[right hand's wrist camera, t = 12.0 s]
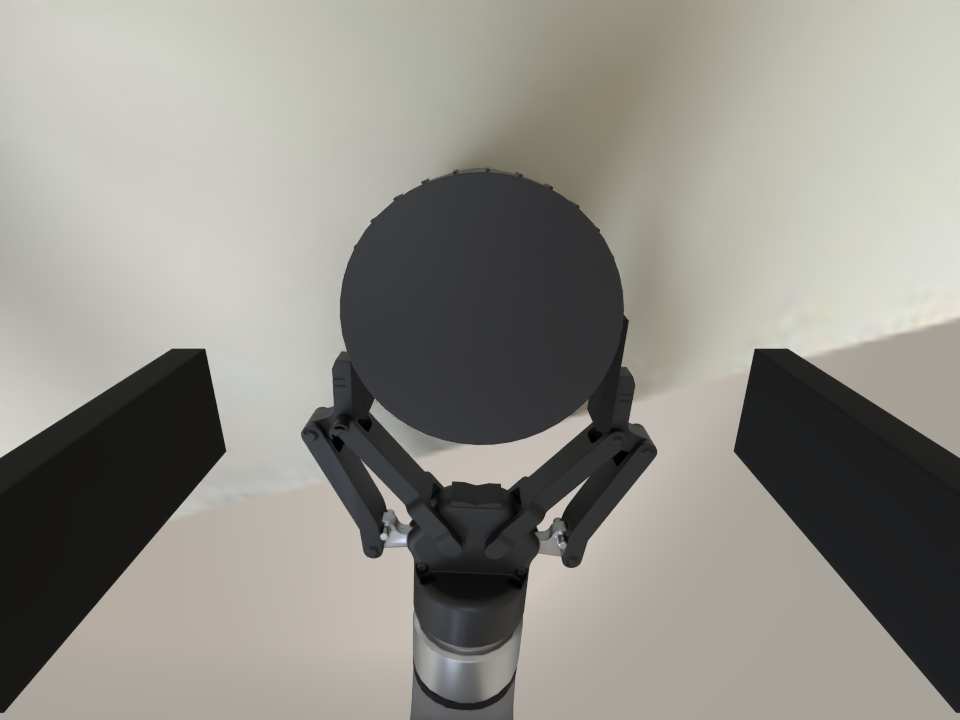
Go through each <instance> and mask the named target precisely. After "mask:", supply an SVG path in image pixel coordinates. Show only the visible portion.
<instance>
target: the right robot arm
mask: <svg viewBox="0 0 960 720" xmlns="http://www.w3.org/2000/svg"><path fill="white" fill-rule="evenodd" d="M225 452H226V448H225V443H224V438H223V433H222V428H221V423H220V418H219V414H218V409H217V404H216V399H215V394H214V389H213V384H212V379H211V375H210V370H209V365H208V360H207V355H206V350H205V349H171V350H170V351H168V352H166V353H165V354H163V355H162V356H160V357H159V358H157V359H155V360H154V361H152V362H151V363H149V364H148V365H146V366H144V367H143V368H141V369H140V370H138V371H137V372H135V373H133V374H132V375H130V376H129V377H127V378H126V379H124V380H122V381H121V382H119V383H118V384H116V385H115V386H113V387H111V388H110V389H108V390H107V391H105V392H103V393H102V394H100V395H99V396H97V397H96V398H94V399H92V400H91V401H89V402H88V403H86V404H85V405H83V406H81V407H80V408H78V409H77V410H75V411H74V412H72V413H70V414H69V415H67V416H66V417H64V418H63V419H61V420H59V421H58V422H56V423H55V424H53V425H52V426H50V427H48V428H47V429H45V430H44V431H42V432H41V433H39V434H37V435H36V436H34V437H33V438H31V439H30V440H28V441H26V442H25V443H23V444H22V445H20V446H19V447H17V448H15V449H14V450H12V451H11V452H9V453H8V454H6V455H4V456H3V457H1V458H0V713H4V712H5V711H6V710H7V708H8V707H9V706H10V705H11V704H12V702H13V701H14V700H15V699H16V698H17V697H18V695H19V694H20V693H21V692H22V691H23V689H24V688H25V687H26V686H27V685H28V684H29V683H30V681H31V680H32V679H33V678H34V677H35V675H36V674H37V673H38V672H39V671H40V670H41V668H42V667H43V666H44V665H45V664H46V663H47V661H48V660H49V659H50V658H51V657H52V655H53V654H54V653H55V652H56V651H57V650H58V648H59V647H60V646H61V645H62V644H63V643H64V641H65V640H66V639H67V638H68V637H69V636H70V634H71V633H72V632H73V631H74V630H75V628H76V627H77V626H78V625H79V624H80V623H81V621H82V620H83V619H84V618H85V617H86V616H87V614H88V613H89V612H90V611H91V610H92V609H93V607H94V606H95V605H96V604H97V603H98V601H99V600H100V599H101V598H102V597H103V596H104V594H105V593H106V592H107V591H108V590H109V588H110V587H111V586H112V585H113V584H114V583H115V581H116V580H117V579H118V578H119V577H120V576H121V574H122V573H123V572H124V571H125V570H126V569H127V567H128V566H129V565H130V564H131V563H132V561H133V560H134V559H135V558H136V557H137V556H138V554H139V553H140V552H141V551H142V550H143V549H144V547H145V546H146V545H147V544H148V543H149V541H150V540H151V539H152V538H153V537H154V536H155V534H156V533H157V532H158V531H159V530H160V529H161V527H162V526H163V525H164V524H165V523H166V522H167V520H168V519H169V518H170V517H171V516H172V514H173V513H174V512H175V511H176V510H177V509H178V507H179V506H180V505H181V504H182V503H183V502H184V500H185V499H186V498H187V497H188V496H189V494H190V493H191V492H192V491H193V490H194V489H195V487H196V486H197V485H198V484H199V483H200V482H201V480H202V479H203V478H204V477H205V476H206V475H207V473H208V472H209V471H210V470H211V469H212V467H213V466H214V465H215V464H216V463H217V462H218V460H219V459H220V458H221V457H222V456H223V455H224V453H225ZM734 452H735V453H736V455H737V456H738V457H739V458H740V459H741V460H742V462H743V463H744V464H745V465H746V466H747V467H748V469H749V470H750V471H751V472H752V473H753V474H754V476H755V477H756V478H757V479H758V480H759V482H760V483H761V484H762V485H763V486H764V487H765V489H766V490H767V491H768V492H769V493H770V494H771V496H772V497H773V498H774V499H775V500H776V502H777V503H778V504H779V505H780V506H781V507H782V509H783V510H784V511H785V512H786V513H787V514H788V516H789V517H790V518H791V519H792V520H793V522H794V523H795V524H796V525H797V526H798V527H799V529H800V530H801V531H802V532H803V533H804V534H805V536H806V537H807V538H808V539H809V540H810V542H811V543H812V544H813V545H814V546H815V547H816V549H817V550H818V551H819V552H820V553H821V554H822V556H823V557H824V558H825V559H826V560H827V561H828V563H829V564H830V565H831V566H832V567H833V569H834V570H835V571H836V572H837V573H838V574H839V576H840V577H841V578H842V579H843V580H844V581H845V583H846V584H847V585H848V586H849V587H850V589H851V590H852V591H853V592H854V593H855V594H856V596H857V597H858V598H859V599H860V600H861V601H862V603H863V604H864V605H865V606H866V607H867V608H868V610H869V611H870V612H871V613H872V614H873V616H874V617H875V618H876V619H877V620H878V621H879V623H880V624H881V625H882V626H883V627H884V628H885V630H886V631H887V632H888V633H889V634H890V636H891V637H892V638H893V639H894V640H895V641H896V643H897V644H898V645H899V646H900V647H901V648H902V650H903V651H904V652H905V653H906V654H907V656H908V657H909V658H910V659H911V660H912V661H913V662H914V664H915V665H916V666H917V667H918V668H919V670H920V671H921V672H922V673H923V674H924V675H925V677H926V678H927V679H928V680H929V681H930V683H931V684H932V685H933V686H934V687H935V688H936V690H937V691H938V692H939V693H940V694H941V695H942V697H943V698H944V699H945V700H946V701H947V702H948V704H949V705H950V706H951V707H952V708H953V710H954V711H955V712H956V713H960V458H959V457H957V456H956V455H954V454H952V453H951V452H949V451H948V450H946V449H945V448H943V447H941V446H940V445H938V444H937V443H935V442H934V441H932V440H930V439H929V438H927V437H926V436H924V435H923V434H921V433H919V432H918V431H916V430H915V429H913V428H912V427H910V426H908V425H907V424H905V423H904V422H902V421H901V420H899V419H897V418H896V417H894V416H893V415H891V414H890V413H888V412H886V411H885V410H883V409H882V408H880V407H878V406H877V405H875V404H874V403H872V402H871V401H869V400H868V399H866V398H864V397H863V396H861V395H860V394H858V393H856V392H855V391H853V390H852V389H850V388H849V387H847V386H845V385H844V384H842V383H841V382H839V381H838V380H836V379H834V378H833V377H831V376H830V375H828V374H827V373H825V372H823V371H822V370H820V369H819V368H817V367H816V366H814V365H812V364H811V363H809V362H808V361H806V360H805V359H803V358H801V357H800V356H798V355H797V354H795V353H794V352H792V351H790V350H789V349H755V350H754V355H753V360H752V365H751V370H750V375H749V380H748V384H747V389H746V394H745V399H744V404H743V409H742V414H741V418H740V424H739V428H738V433H737V438H736V443H735V448H734Z"/></svg>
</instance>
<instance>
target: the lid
mask: <svg viewBox="0 0 960 720" xmlns="http://www.w3.org/2000/svg"><path fill="white" fill-rule="evenodd" d="M421 183H422V185H420V186H418V187H416V188H414V189H412V190H410V191H409V192H407V193H406V194H404V195H403V194H401V195H399V196H397V197H395V198H394V199H393V200H394V202H392V203H391V204H390V205H389V206H388V207H387V208H386V209H385V210H383V211H382V212H381V213H380V214H379V215H378V216H377V217H375V218H374V219H372V220H371V221H370V222H371V224H370V226H369V227H368V228H367V229H366V230H365V232H364V233H363V235H362V237H361V238H360V240H359V241H358V243H357V244H356V245H355V246H354V251H353V253H352V255H351V257H350V260H349V262H348V265H347V268H346V272H345V274H344V279H343V283H342V290H341V297H340V320H341V327H342V335H343V338H344V342H345V346H346V349H347V353H348V355H349V357H350V360H351V362H352V364H353V367H354V369H355V370H356V372H357V374H358V376H359V377H360V379H361V381H362V382H363V384H364V385H365V386H366V388H367V389H368V390H369V392H370V393H371V394H372V396H373V397H374V398H375V399H376V400H377V401H378V402H379V403H380V404H381V405H382V406H383V407H384V408H385V409H386V410H388V411H389V412H390V413H391V414H393V415H394V416H395V417H396V418H398V419H399V420H401V421H402V422H404V423H406V424H407V425H409V426H411V427H412V428H414V429H416V430H419V431H421V432H423V433H425V434H427V435H430V436H433V437H436V438H439V439H442V440H446V441H451V442H456V443H461V444H472V445H494V444H501V443H508V442H513V441H517V440H521V439H525V438H528V437H530V436H533V435H536V434H538V433H541V432H543V431H545V430H547V429H549V428H551V427H552V426H554V425H556V424H558V423H560V422H561V421H562V420H564V419H565V418H567V417H568V416H570V415H571V414H572V413H573V412H575V411H576V410H577V409H578V408H579V407H580V406H581V405H582V404H584V403H585V401H586V400H587V399H588V398H589V397H590V396H591V395H592V394H593V392H594V391H595V390H596V389H597V387H598V386H599V384H600V383H601V381H602V380H603V378H604V377H605V375H606V373H607V371H608V369H609V367H610V365H611V363H612V361H613V359H614V356H615V353H616V351H617V348H618V345H619V341H620V336H621V331H622V327H623V313H624V304H623V290H622V285H621V280H620V275H619V272H618V269H617V266H616V263H615V260H614V256H613V255H612V253H611V251H610V249H609V247H608V245H607V243H606V242H605V240H604V238H603V237H602V235H601V234H600V230H599V229H598V228H597V227H595V225H594V224H593V223H592V222H591V221H590V220H589V219H588V218H587V217H586V216H585V214H584V213H583V212H582V211H581V210H580V209H579V206H578V205H577V204H575V203H573V202H571V201H568V200H567V199H566V198H565V197H563V196H561V195H560V194H558V193H556V192H555V191H553V190H552V189H553V187H552V186H550V185H547V184H544V185H542V184H540V183H538V182H535V181H533V180H530V179H528V178H525V177H523V175H522V174H521V173H518V172H516V175H515V174H511V173H507V172H501V171H492V170H490V169H489V168H486V170H470V171H463V172H458V170H455V171H453V173H451V174H448V175H445V176H442V177H438V178H435V179H432V180H429V179H426V180H424V181H422V182H421Z"/></svg>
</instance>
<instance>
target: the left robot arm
mask: <svg viewBox="0 0 960 720" xmlns="http://www.w3.org/2000/svg"><path fill="white" fill-rule="evenodd" d="M628 322H629V320H628V319H627V318H626V317H625V316H624V315H623V327H622V331H621V336H620V341H619V345H618V348H617V351H616V353H615V356H614V359H613V361H612V363H611V365H610V367H609V369H608V371H607V373H606V375H605V377H604V378H603V380H602V381H601V383H600V384H599V386H598V387H597V389H596V390H595V391H594V392H593V394H592V395H591V396H590V397H589V401H588V408H587V409H588V412H589V414H590V417H591V419H592V421H593V422H592V423H591V424H590V425H589V426H588V427H587V428H585V429H584V430H583V431H582V432H581V433H580V434H579V435H577V436H576V437H575V438H574V439H573V440H572V441H570V442H569V443H568V444H567V445H566V446H565V447H563V448H562V449H561V450H560V451H559V452H558V453H556V454H555V455H554V456H553V457H552V458H551V459H549V460H548V461H547V462H546V463H545V464H544V465H542V466H541V467H540V468H539V469H538V470H537V471H535V472H534V473H533V474H532V475H531V476H529V477H523V478H521V479H520V480H519V481H518V482H517V483H516V484H514V485H513V486H512V487H511V488H510V489H509V490H506V489H504V488H501V484H492V483H488V484H483V485H472V484H469V483H465V482H452V485H450V486H447V487H443V486H442V485H441V484H440V483H439V482H438V480H437V479H436V478H435V477H434V476H433V475H432V474H431V473H430V472H425V471H424V470H423V469H422V468H421V467H420V466H419V465H418V464H417V463H416V462H415V461H414V460H413V459H412V458H411V456H410V455H409V454H408V453H407V452H406V451H405V450H404V449H403V448H402V447H401V446H400V445H399V444H398V442H397V441H396V440H395V439H394V438H393V437H392V436H391V435H390V434H389V433H388V432H387V431H386V430H385V428H384V427H383V426H382V425H381V424H380V423H379V422H378V421H377V420H376V419H375V418H374V417H373V416H372V414H371V413H370V412H369V410H370V408H371V406H372V403H373V401H374V399H375V398H374V397H373V396H372V394H371V393H370V392H369V390H368V389H367V388H366V386H365V385H364V384H363V382H362V381H361V379H360V377H359V376H358V374H357V372H356V370H355V369H354V367H353V364H352V362H351V360H350V357H349V355H348V353H347V352H343V351H342V352H341V353H340V355H339V356H338V358H337V359H336V361H335V363H334V366H333V368H332V374H333V395H334V406H333V407H330V408H326V407H319V408H317V409H316V410H315V412H314V413H313V415H312V416H311V418H310V419H309V421H308V422H307V424H306V426H305V427H304V429H303V431H302V433H301V436H302V439H303V441H304V442H305V444H306V445H307V447H308V449H309V450H310V452H311V453H312V455H313V456H314V458H315V460H316V461H317V463H318V464H319V466H320V467H321V469H322V471H323V472H324V474H325V475H326V477H327V479H328V480H329V482H330V483H331V485H332V486H333V488H334V490H335V491H336V493H337V494H338V496H339V498H340V499H341V501H342V502H343V504H344V505H345V507H346V509H347V510H348V512H349V513H350V515H351V516H352V518H353V520H354V521H355V523H356V524H357V526H358V528H359V529H360V534H361V540H362V546H363V551H364V553H365V555H366V556H367V557H369V558H378V557H380V556H381V555H382V553H383V549H384V548H389V547H408V549H409V550H410V552H411V553H412V555H413V557H414V614H413V666H414V669H413V688H412V706H411V716H410V720H513V701H514V687H515V675H516V670H517V662H518V658H519V650H520V642H521V633H522V625H523V613H524V606H525V598H526V589H527V581H528V573H529V566H530V563H531V561H532V560H533V559H534V558H535V556H536V555H537V554H538V553H540V554H548V555H555V556H561V557H562V562H563V564H564V565H565V566H566V567H569V568H574V567H577V566H578V565H580V563H581V561H582V558H583V554H584V551H585V548H586V545H587V542H588V540H589V538H590V537H591V536H592V535H593V534H594V532H595V531H596V530H597V529H598V527H599V526H600V525H601V524H602V522H603V521H604V520H605V519H606V517H607V516H608V515H609V514H610V513H611V511H612V510H613V509H614V508H615V506H616V505H617V504H618V503H619V501H620V500H621V499H622V498H623V497H624V495H625V494H626V493H627V492H628V490H629V489H630V488H631V487H632V485H633V484H634V483H635V482H636V480H637V479H638V478H639V477H640V476H641V474H642V473H643V472H644V471H645V469H646V468H647V467H648V466H649V464H650V463H651V462H652V461H653V459H654V458H655V457H656V455H657V449H656V447H655V445H654V444H653V442H652V440H651V439H650V437H649V435H648V434H647V432H646V430H645V429H644V427H643V426H642V425H640V424H631V423H628V421H629V416H630V411H631V405H632V400H633V394H634V389H635V383H634V379H633V376H632V375H631V373H630V372H629V370H628V369H627V367H621V363H622V357H623V352H624V346H625V340H626V334H627V328H628ZM360 459H361V460H362V461H363V462H364V463H365V464H366V465H367V466H368V467H369V468H370V469H371V470H372V471H373V472H374V473H375V474H376V475H377V476H378V477H379V478H380V479H381V480H382V481H383V482H384V483H385V484H386V486H387V487H388V488H389V489H390V490H391V491H392V492H393V493H394V494H395V495H396V496H397V497H398V498H399V499H400V500H401V501H402V502H403V503H404V504H405V506H406V509H407V512H408V514H409V515H410V517H411V518H412V521H411V522H410V524H409V525H404V524H402V523H400V522H399V521H398V519H397V517H396V515H395V514H394V511H393V510H392V509H388V510H387V509H386V505H385V502H384V499H383V497H382V495H381V493H380V491H379V490H378V488H377V486H376V485H375V483H374V481H373V480H372V478H371V476H370V475H369V473H368V471H367V470H366V468H365V466H364V465H363V463H362V461H361V460H360ZM590 475H591V476H590ZM589 476H590V477H589ZM588 477H589V478H588ZM587 478H588V479H587ZM586 479H587V481H586V482H585V484H584V485H583V486H582V487H581V489H580V490H579V491H578V492H577V494H576V495H575V496H574V498H573V499H572V500H571V502H570V503H569V504H568V506H567V507H566V509H565V511H564V513H563V516H562V519H561V518H555V519H554V521H553V522H554V523H553V524H552V525H551V526H550V528H549V529H548V530H546V531H543V532H539V531H538V529H537V527H536V526H537V525H538V524H540V523H541V522H542V520H543V519H544V517H545V514H546V512H547V511H548V510H549V509H550V508H552V507H553V506H554V505H555V504H556V503H558V502H559V501H560V500H561V499H562V498H564V497H565V496H566V495H567V494H569V493H570V492H571V491H572V490H573V489H575V488H576V487H577V486H578V485H579V484H581V483H582V482H583V481H584V480H586ZM521 505H522V506H521Z"/></svg>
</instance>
